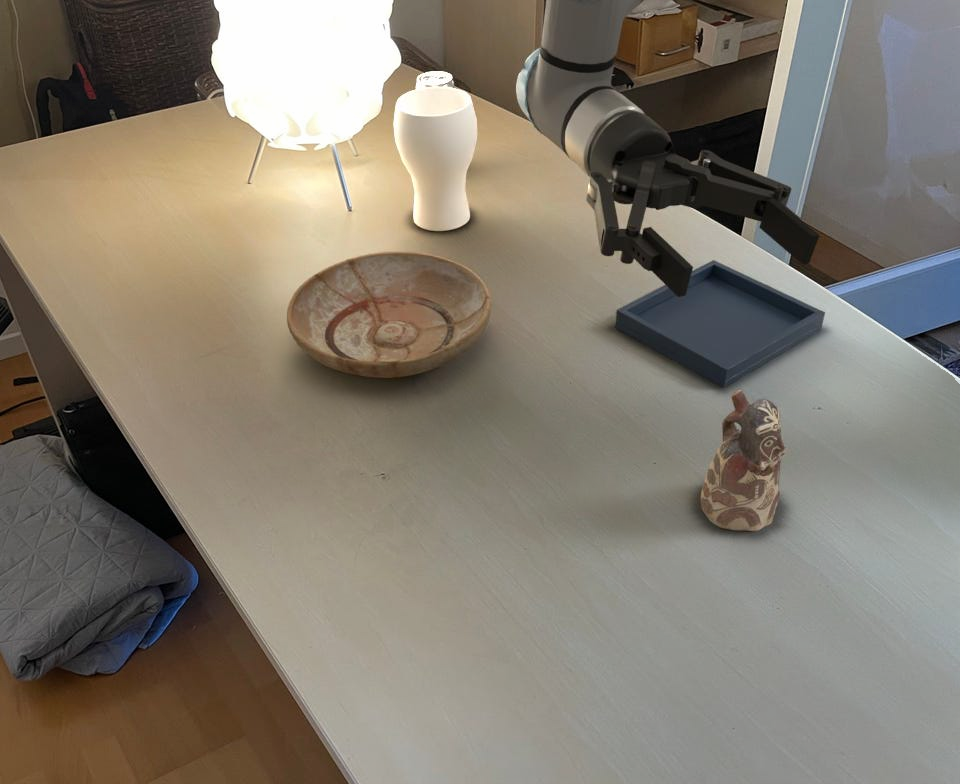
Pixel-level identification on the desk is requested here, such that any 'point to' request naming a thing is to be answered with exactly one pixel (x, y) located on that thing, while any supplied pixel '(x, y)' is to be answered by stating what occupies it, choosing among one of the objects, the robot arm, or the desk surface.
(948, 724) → the desk surface
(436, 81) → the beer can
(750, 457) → the figurine
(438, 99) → the cup
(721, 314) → the tray
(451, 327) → the ceramic bowl
